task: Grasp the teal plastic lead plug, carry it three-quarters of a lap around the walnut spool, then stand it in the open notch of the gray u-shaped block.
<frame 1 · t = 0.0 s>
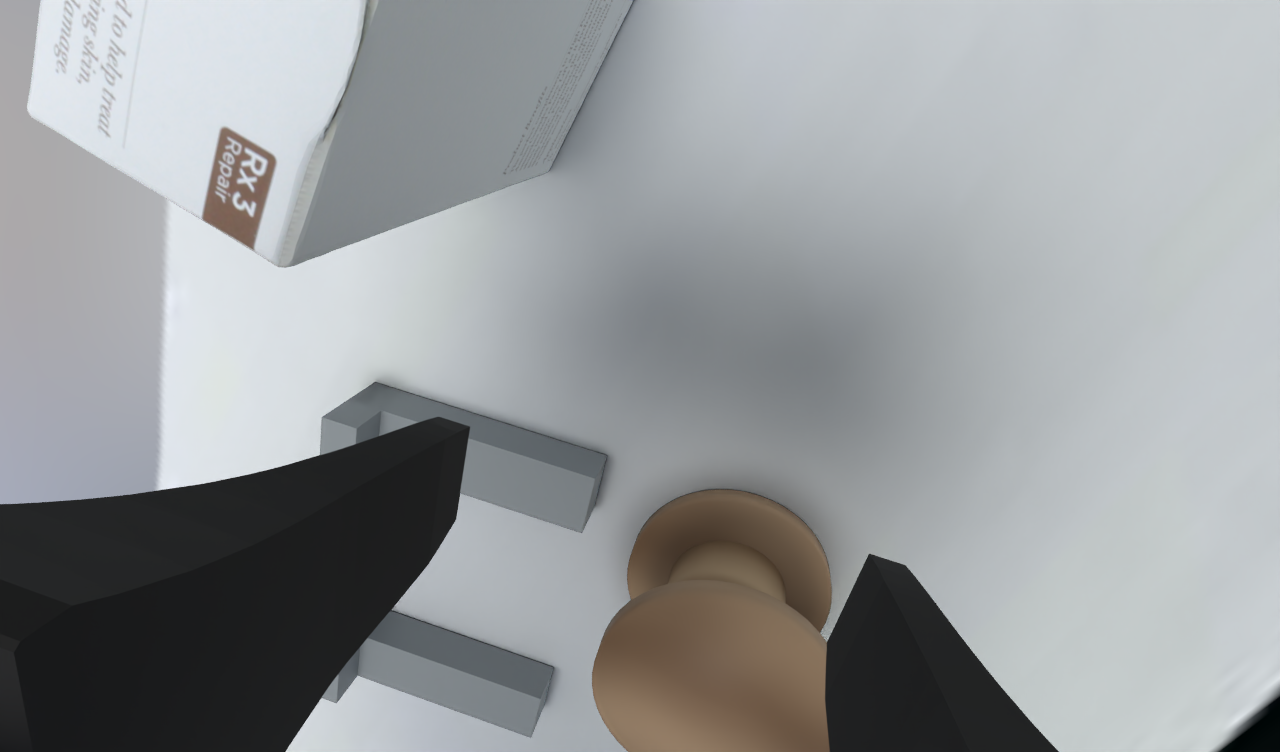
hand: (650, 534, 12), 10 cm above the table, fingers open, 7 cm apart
spool: (728, 575, 24), on the table
gray u-shaped block: (480, 561, 26), on the table
skincare box: (538, 51, 19), on the table
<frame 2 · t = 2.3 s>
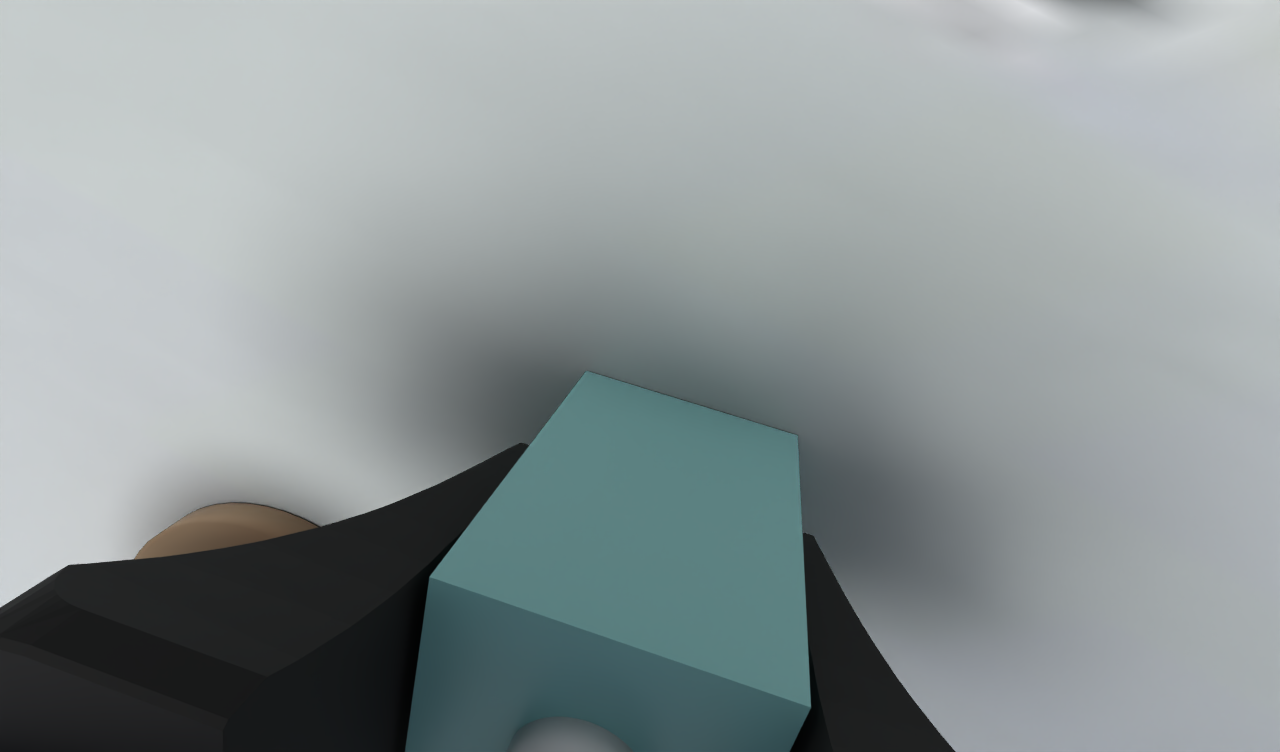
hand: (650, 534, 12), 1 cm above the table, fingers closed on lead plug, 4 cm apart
spool: (281, 626, 16), on the table
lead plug: (663, 492, 13), on the table, touching gripper
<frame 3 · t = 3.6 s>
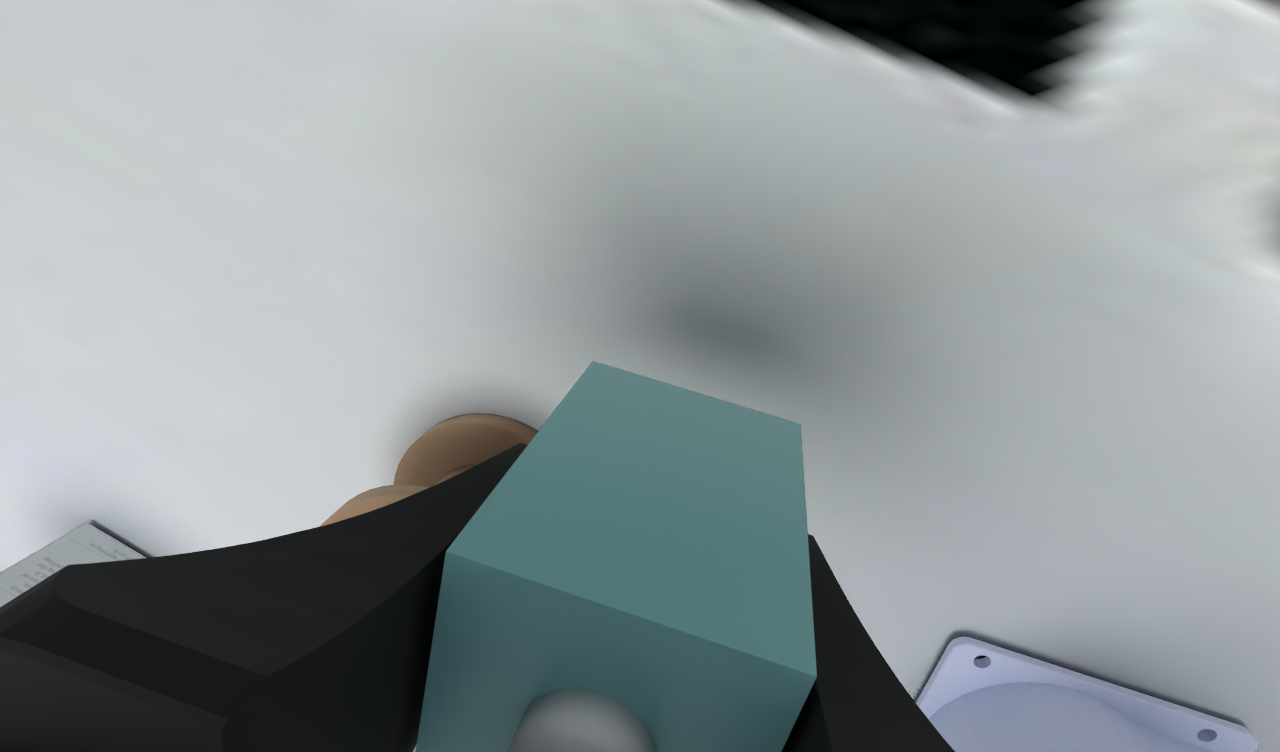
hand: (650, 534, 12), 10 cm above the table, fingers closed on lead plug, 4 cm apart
spool: (495, 503, 24), on the table
skincare box: (148, 581, 29), on the table
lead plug: (668, 481, 13), point 8 cm above the table, touching gripper
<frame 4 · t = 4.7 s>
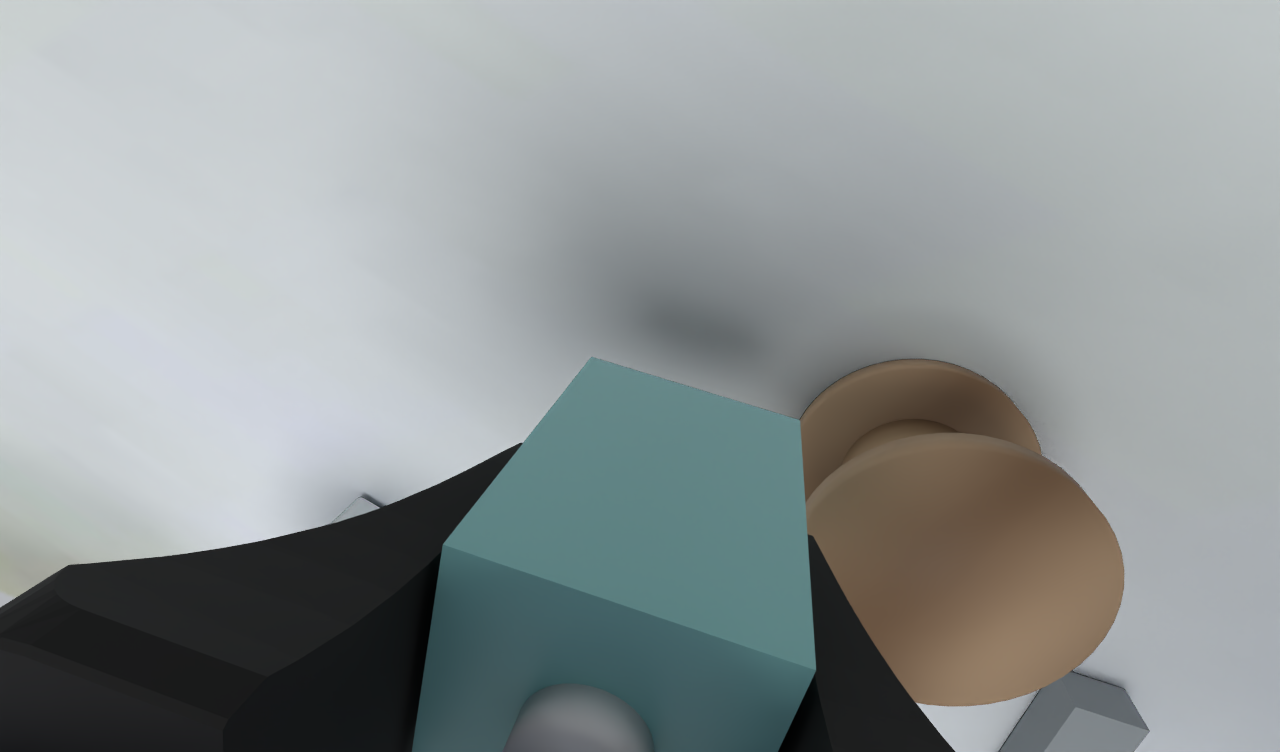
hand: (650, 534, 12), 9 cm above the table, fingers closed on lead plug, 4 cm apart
spool: (905, 467, 20), on the table
gray u-shaped block: (890, 706, 24), on the table
skincare box: (418, 564, 26), on the table
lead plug: (667, 478, 13), point 8 cm above the table, touching gripper
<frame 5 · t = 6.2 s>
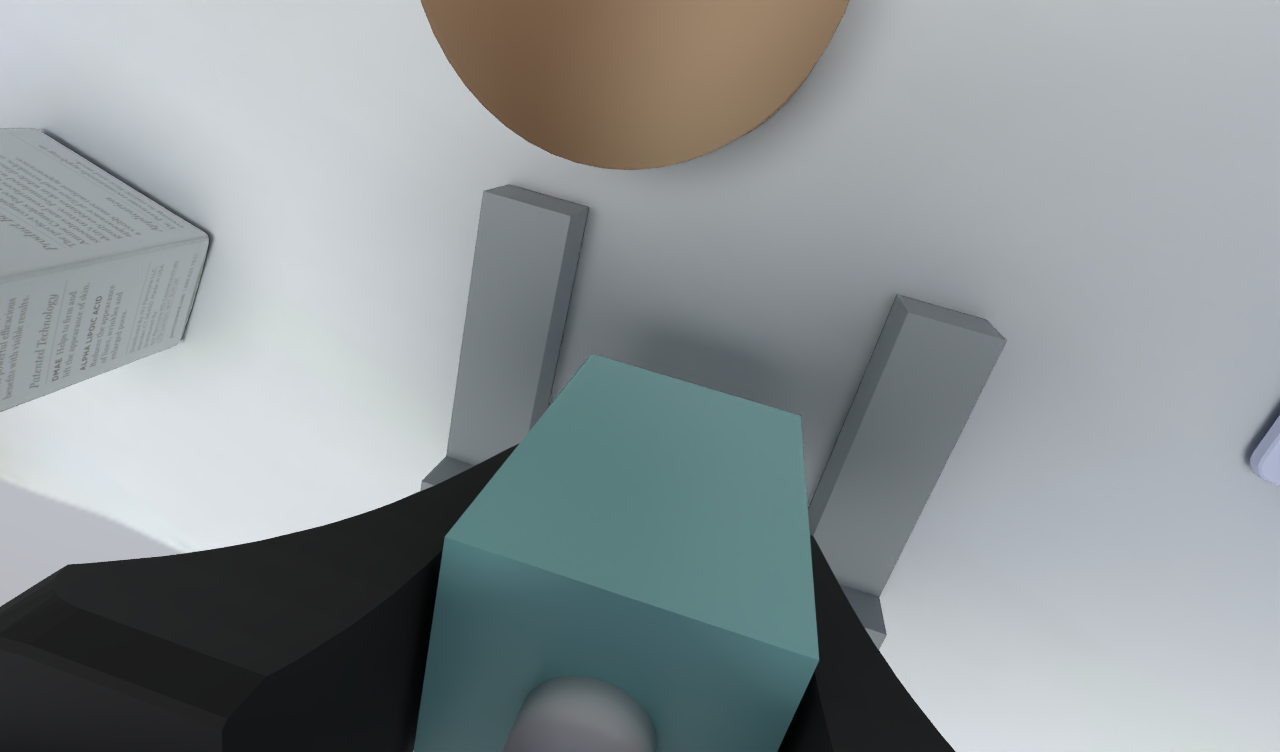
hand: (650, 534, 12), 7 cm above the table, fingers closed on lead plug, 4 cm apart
gray u-shaped block: (699, 382, 18), on the table
skincare box: (128, 237, 20), on the table
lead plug: (668, 474, 13), point 6 cm above the table, touching gripper
when the fingers open (3 cm above the table, at t = 7.4 s): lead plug drops 1 cm, on the table.
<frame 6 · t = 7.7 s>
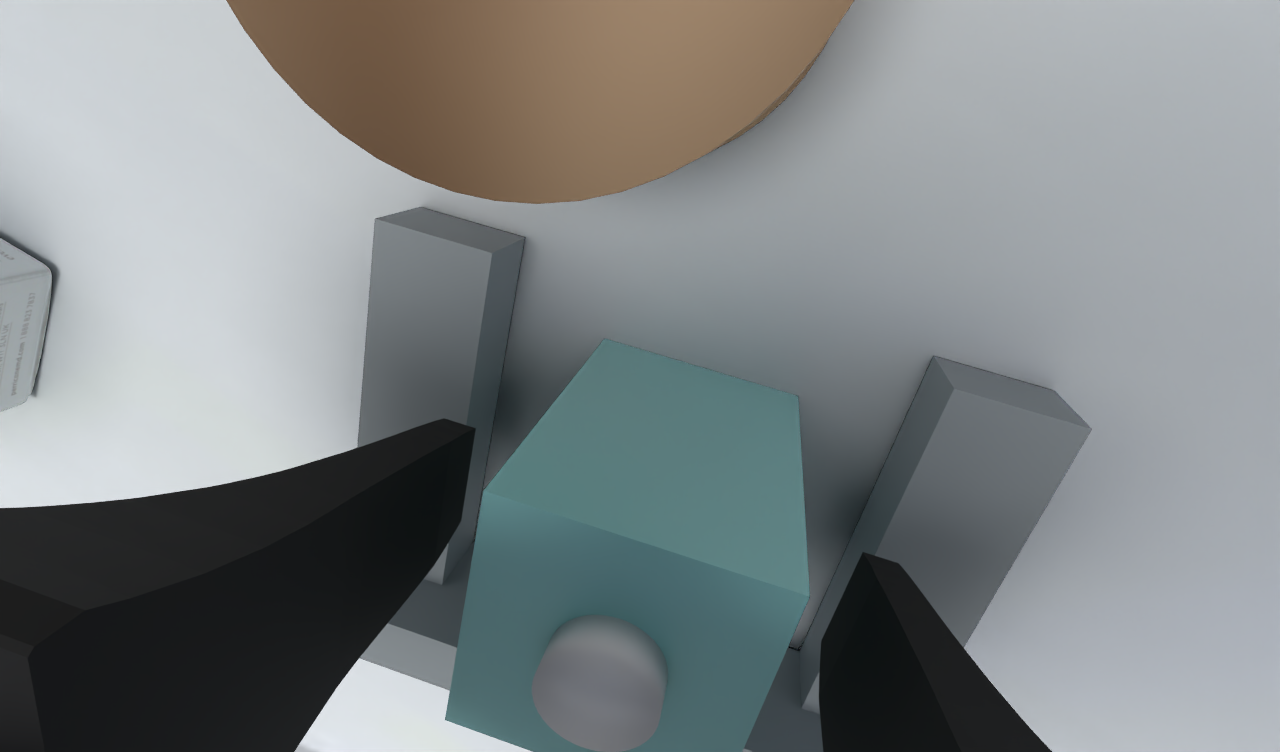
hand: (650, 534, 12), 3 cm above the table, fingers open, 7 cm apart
gray u-shaped block: (673, 461, 14), on the table
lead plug: (675, 451, 14), on the table
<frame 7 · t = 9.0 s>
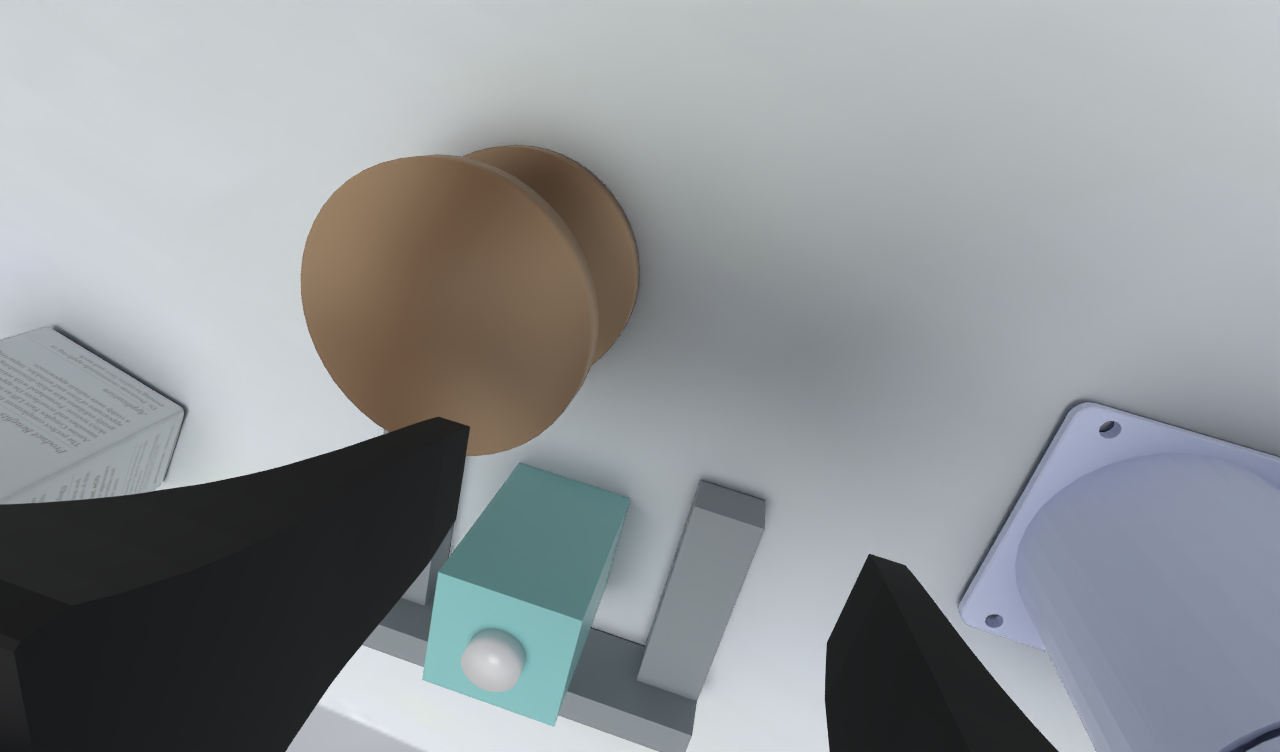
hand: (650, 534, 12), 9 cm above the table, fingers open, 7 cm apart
spool: (526, 266, 20), on the table
gray u-shaped block: (562, 532, 24), on the table
skincare box: (120, 403, 26), on the table
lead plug: (563, 526, 24), on the table
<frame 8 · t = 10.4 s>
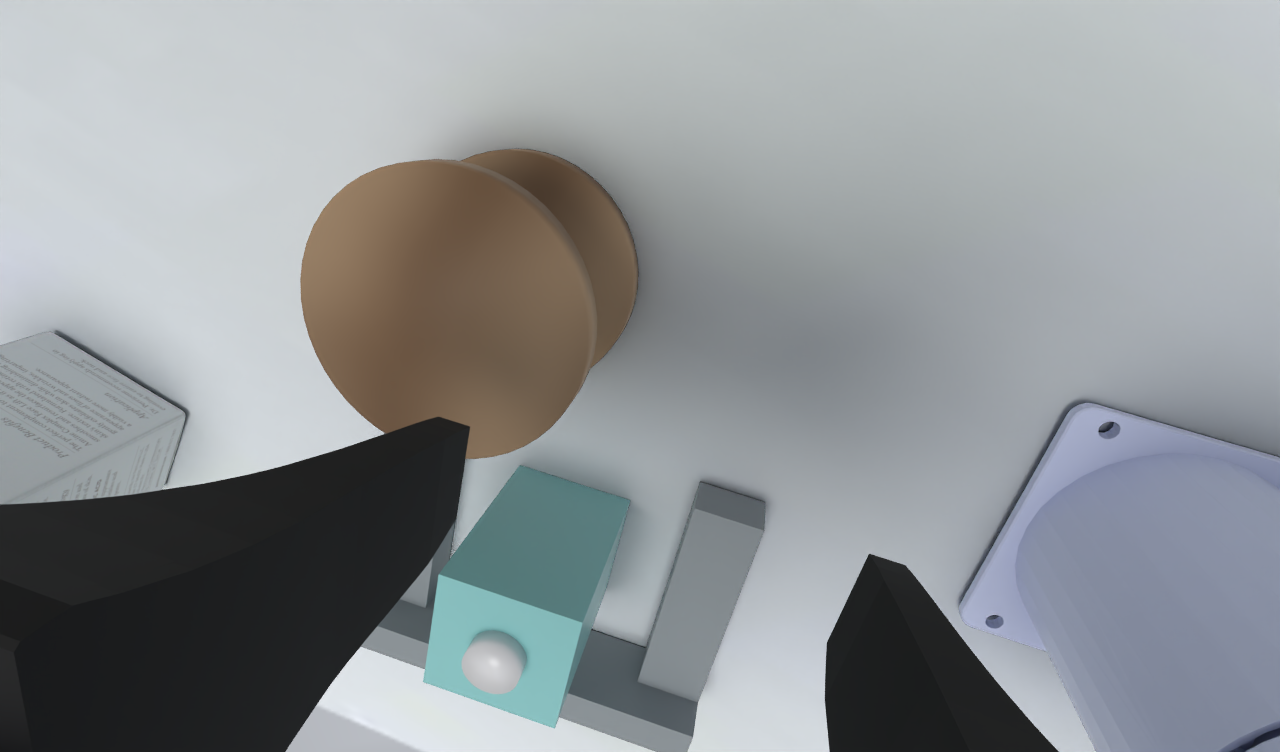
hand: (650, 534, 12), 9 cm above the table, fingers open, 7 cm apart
spool: (525, 269, 20), on the table
gray u-shaped block: (563, 534, 24), on the table
skincare box: (122, 407, 26), on the table
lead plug: (564, 528, 24), on the table
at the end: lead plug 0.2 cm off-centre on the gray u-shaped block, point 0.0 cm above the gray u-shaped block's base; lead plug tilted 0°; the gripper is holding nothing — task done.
